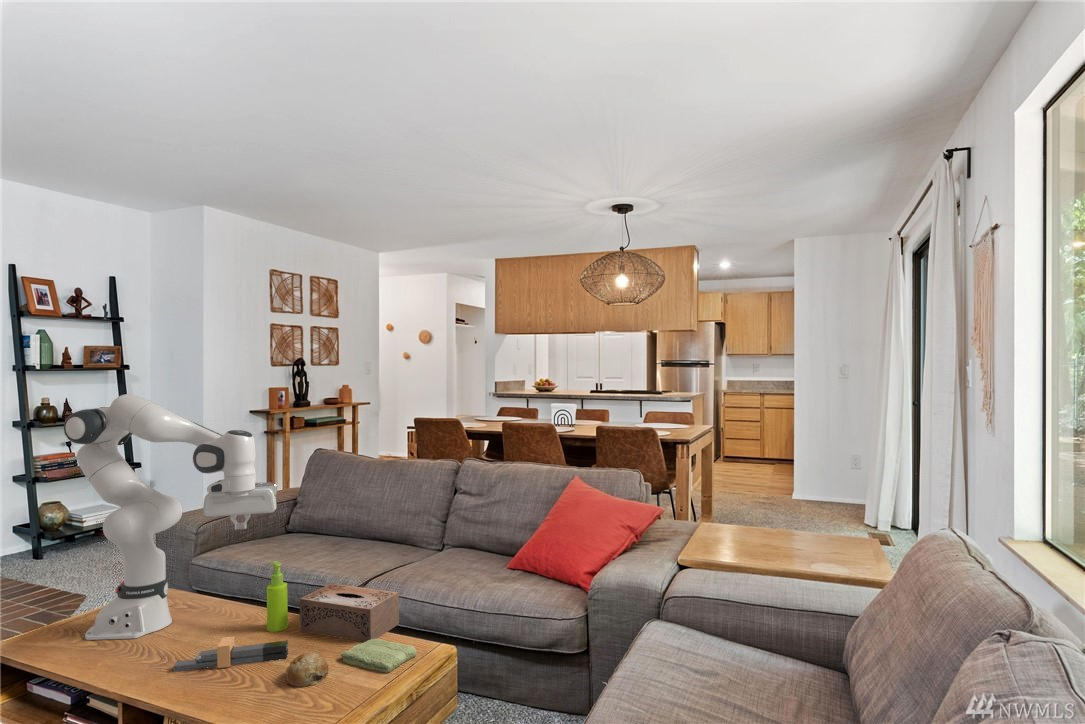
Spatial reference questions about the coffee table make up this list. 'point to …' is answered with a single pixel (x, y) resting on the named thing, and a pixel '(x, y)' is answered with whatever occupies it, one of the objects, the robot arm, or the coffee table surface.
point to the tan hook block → (225, 651)
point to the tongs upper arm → (245, 650)
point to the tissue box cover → (349, 612)
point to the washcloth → (379, 655)
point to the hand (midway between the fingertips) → (240, 529)
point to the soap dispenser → (277, 601)
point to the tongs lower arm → (195, 665)
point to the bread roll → (307, 670)
